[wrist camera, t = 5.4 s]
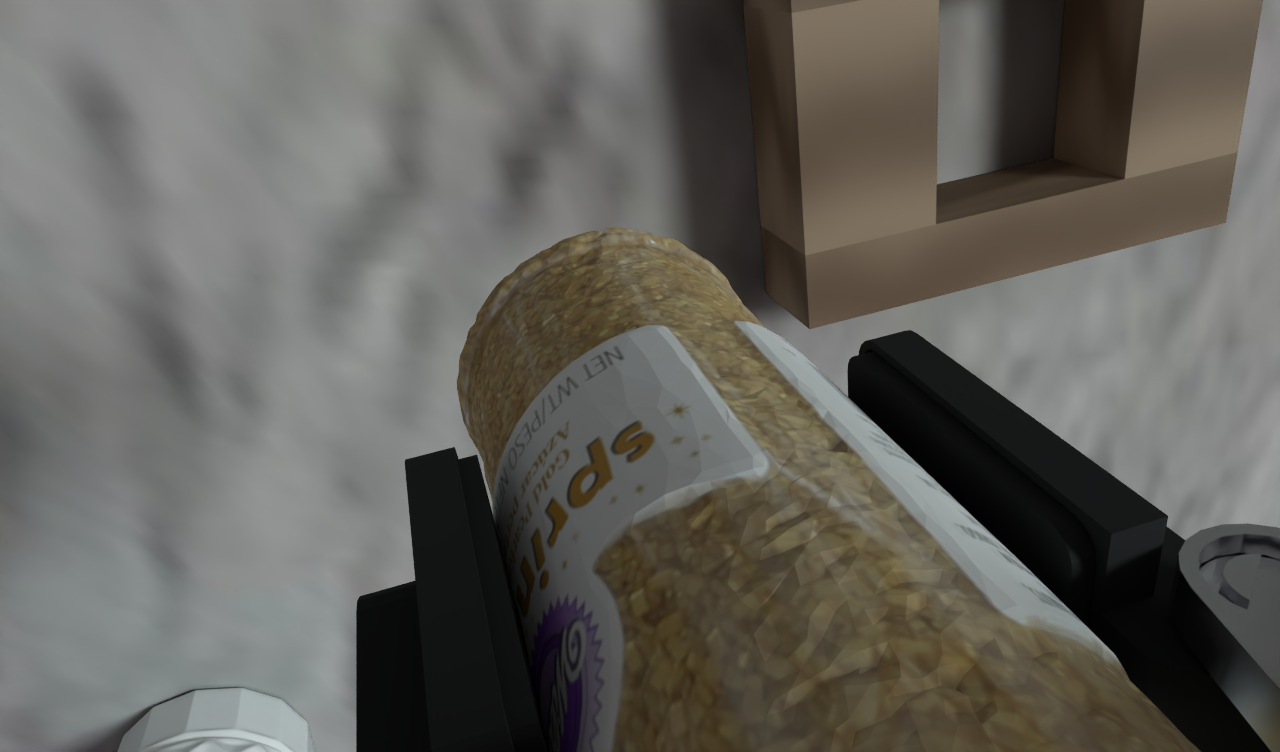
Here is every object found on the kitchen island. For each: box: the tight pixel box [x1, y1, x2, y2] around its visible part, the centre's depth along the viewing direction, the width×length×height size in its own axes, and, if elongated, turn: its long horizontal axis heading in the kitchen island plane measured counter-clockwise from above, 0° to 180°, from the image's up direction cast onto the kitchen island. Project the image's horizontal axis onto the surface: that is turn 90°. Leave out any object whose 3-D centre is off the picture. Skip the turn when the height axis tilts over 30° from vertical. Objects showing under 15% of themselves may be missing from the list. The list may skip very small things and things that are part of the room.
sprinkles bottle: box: [457, 228, 1201, 752], centre depth 8 cm, size 5×5×14 cm
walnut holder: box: [743, 0, 1263, 329], centre depth 29 cm, size 12×16×4 cm
